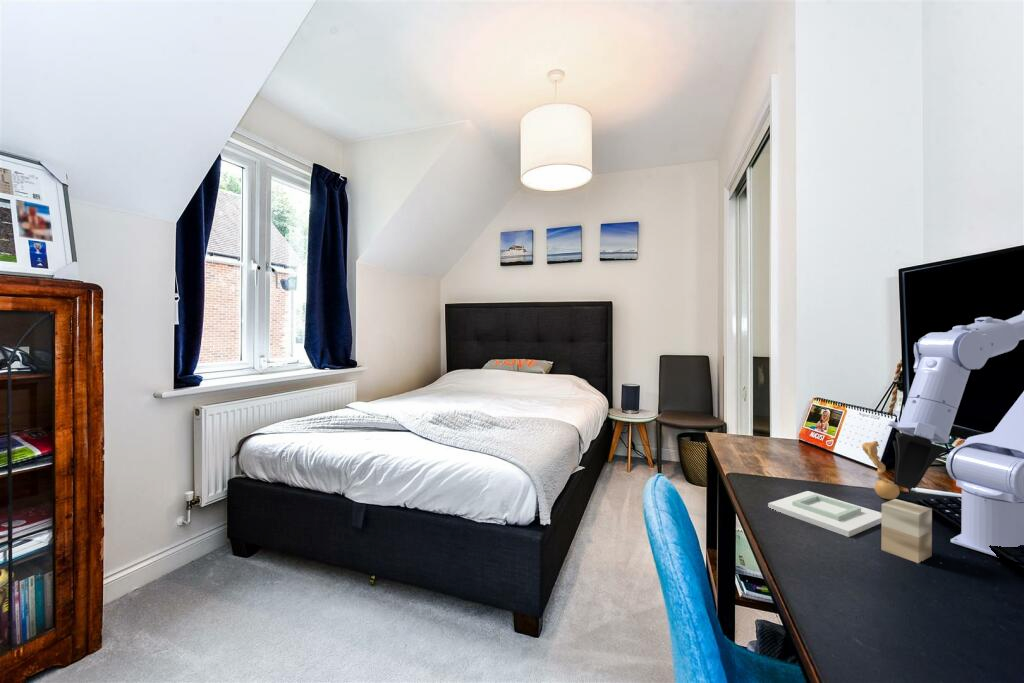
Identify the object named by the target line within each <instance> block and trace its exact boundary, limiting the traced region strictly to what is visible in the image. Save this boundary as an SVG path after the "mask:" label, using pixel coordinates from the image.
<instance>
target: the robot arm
mask: <svg viewBox="0 0 1024 683" xmlns="http://www.w3.org/2000/svg"><path fill="white" fill-rule="evenodd" d="M1022 340H1024V310H1022V312H1021V313H1020V314H1018V315H1016V316H1013V317H1010V318H1008V319H1005V320H1003V319H1000V318H999V319H998V318H993V317H991V316H980V317H976V318H974V322H973V323H970V324H967V325H961V324H960V325H955V326H953V327H952V329H950V330H948V331H945V332H942V331H940V332H938V331H937V332H929V333H927V334H925V335H924V336H922V337H920V338H919V339H918V342H914V344H913V354H914V358H915V359H914V364H913V367H912V368H913V372H914V373H915V375H914V378H913V381H912V384H911V387H910V390H909V393H908V395H907V398H906V401H905V404H904V408H903V410H902V414H901V416H900V418H899V419H900V420H899V422H896V421H893V420H889V421H888V424H887V426H888V427H892V428H894V429H896V430H897V431H896V433H895V439H896V440H892V445H893V448H894V452H895V466H894V473H893V474H894V476H893V482H894V484H895V485H897V486H898V487H901V488H905V489H907V490H912V489H916V488H917V486H919V484H920V483H921V481H922V480H923V478H924V477H925V475H926V473H927V471H928V469H929V468H930V467H931V466H932V465H933V463H934V462H935V461H936V459H937V458H939V456H941V455H942V454H944V453H945V452H946V451H948V448H947V447H946V446H945V447H944V446H942V445H938V444H939V443H940V444H949V442H950V434H951V431H952V430H951V429H952V427H953V424H954V422H955V418H956V416H957V413H958V410H959V406H960V403H961V400H962V398H963V394H964V392H965V388H966V386H967V385H966V384H967V382H968V379H969V376H970V373H971V370H980V369H982V368H983V367H984V366H985V364H986V363H987V361H988V360H989V358H993V357H997V356H998V355H1001V354H1004V353H1008V352H1011V351H1012V350H1014V349H1015V348H1016V347H1017V346H1018V344H1019V342H1020V341H1022ZM899 431H900V432H899ZM936 443H938V444H936ZM945 467H946V470H947V473H948V475H949V477H950V478H951V479H952V480H954V481H955V483H956V484H955V486H956V487H958V488H959V489H960V488H961V532H960V534H957V535H956V536H954V537H953V538H950V543H952V544H955V545H958V546H961V547H964V548H967V549H971V550H974V551H978V552H981V553H984V554H988V555H991V556H994V557H997V556H996V554H995V553H994V552H993V551H992V550H991V548H990V547H989V546H990V545H991V546H998V547H999V546H1001V547H1018V546H1020V545H1024V391H1023V392H1022V393H1021V394H1020V395H1019V397H1018V398H1017V400H1016V401H1015V402H1014V404H1013V405H1012V406H1011V407H1010V408H1009V410H1008V411H1007V412H1006V413H1005V415H1004V416H1003V417H1002V419H1001V420H1000V422H999V423H998V424H997V426H995V428H994V430H993V431H991V432H986V433H982V434H977V435H973V436H969V437H967V438H966V440H965V441H964V442H963V443H962V444H960V445H957V446H956V447H954V448H953V449H952V450H951V451H950V452H949V453H948V456H947V457H946V461H945ZM997 558H998V557H997Z"/></svg>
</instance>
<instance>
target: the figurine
mask: <svg viewBox="0 0 1024 683" xmlns="http://www.w3.org/2000/svg"><path fill="white" fill-rule="evenodd" d="M861 445H862V446H861V448H862V451H863V452H864V453H865V454H866V456H868V459H869V460H871V461H872V464H873V465H874V466H876V468H877V473H876V474H877V476H878V478H880V480H877V481H876V482H875V484H874V485H873V487H874V491H875V493H876V494H877V495H878V497H880V498H882V499H885V500H893V499H897V498H898V496H899V495H900V488H899V486H898V485H895V484H894V481H892V480H889V478H887V477H885V476H884V475H882V474H883V473H884V472H886V465H885V464H884V463H883V462H882V461H881V457H880V456H879V455H878V452H879V451H878V447H879V446H880V444H879V442H878V441H877V440H874V441H872V442H871V441H870V442H863V443H862V444H861Z"/></svg>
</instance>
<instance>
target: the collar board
mask: <svg viewBox="0 0 1024 683" xmlns="http://www.w3.org/2000/svg"><path fill="white" fill-rule="evenodd" d="M768 507H769V508H771V509H770V510H772V509H774V510H773V511H775V510H776V512H778V513H780V512H781V514H784V515H787V516H789V517H792V518H794V519H798V520H800V521H803V522H805V523H808V524H811V525H814V526H817V527H820V528H823V529H825V530H828V531H831V532H833V533H836V534H839V535H842V536H845V537H847V538H850V537H853V536H855V535H857V534H859V533H862V532H863V531H866V530H868V529H871V528H872V527H876V526H877V525H880V524H881V512H882V511H877V510H873V509H870V508H867V507H863V506H859V505H858V504H857V505H856V504H853V503H850V502H847V501H843V500H839V499H837V498H833V497H829V496H826V495H823V494H820V493H817V492H813V491H809V490H806V491H803V492H799V493H797V494H794V495H793V494H792V495H790V496H787V497H784V498H780V499H777V500H774V501H770V502H768V503H767V508H768ZM769 508H768V509H769Z"/></svg>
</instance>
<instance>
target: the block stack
mask: <svg viewBox="0 0 1024 683" xmlns="http://www.w3.org/2000/svg"><path fill="white" fill-rule="evenodd" d="M880 512H881V523H880V524H881V525H880V526H881V528H880V529H881V539H880V540H881V542H880V543H881V544H880V545H881V548H880V549H881V551H883V552H886V553H889V554H891V555H895V556H898V557H900V558H903V559H906V560H908V561H912V562H914V563H916V564H920V563H921V561H922V562H924V561H925V560H927V559H929V558H930V557H932V556H933V554H932V553H933V552H932V551H933V549H932V548H933V545H932V542H933V534H932V533H933V532H932V530H933V523H932V522H933V508H931V507H927V506H923V505H919V504H916V503H913V502H908V501H905V500H901V499H897V498H895V499H890V500H887V501H886V502H883V503H881V511H880Z"/></svg>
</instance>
